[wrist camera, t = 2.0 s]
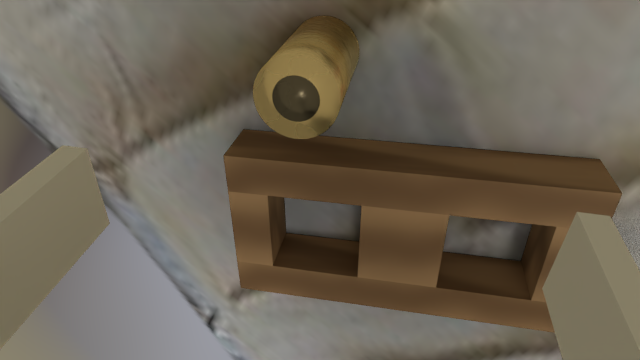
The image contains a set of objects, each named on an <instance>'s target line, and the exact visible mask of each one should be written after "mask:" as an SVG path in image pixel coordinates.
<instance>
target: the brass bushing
mask: <svg viewBox="0 0 640 360" xmlns="http://www.w3.org/2000/svg"><path fill="white" fill-rule="evenodd" d="M358 59H359V44H358V40H357V38H356V36H355V34H354V32H353V31H352V29H351V28H350V27H349V26H348V25H347V24H346V23H344V22H343V21H341V20H339V19H337V18H335V17H331V16H316V17H313V18H310V19H308V20H307V21H305V22H304V23H303V24H302V25H300V27H299V28H298V29H297V30H296V31H295V32H294V33H293V34H292V35H291V36H290V38H289V39H288V40H287V41H286V42H285V43H284V44H283V45H282V46H281V47H280V48H279V50H278V51H277V52H276V53H275V54H274V55H273V56H272V57H271V58H270V59H269V61H268V62H267V63H266V64H265V65H264V66H263V67H262V68H261V70H260V71H259V73H258V74H257V76H256V79H255V82H254V86H253V98H254V103H255V107H256V109H257V112H258V113H259V115H260V117H261V118H262V120H263V121H264V122H265V123H266V124H267V125H268V126H269V127H270V128H271V129H273V130H274V131H276V132H277V133H279V134H281V135H283V136H286V137H289V138H294V139H308V138H313V137H316V136H318V135H320V134H322V133H324V132H325V131H326V130H328V129H329V128H330V127H331V126H332V124H333V123H334V121H335V120H336V118H337V116H338V113H339V110H340V108H341V105H342V102H343V100H344V97H345V95H346V92H347V89H348V87H349V84H350V81H351V79H352V76H353V74H354V71H355V68H356V66H357V63H358Z"/></svg>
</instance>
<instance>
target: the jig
mask: <svg viewBox="0 0 640 360" xmlns="http://www.w3.org/2000/svg"><path fill="white" fill-rule="evenodd" d="M224 163H225V171H226V179H227V186H228V194H229V201H230V209H231V217H232V224H233V232H234V239H235V247H236V255H237V262H238V270H239V277H240V285H241V288H246V289H253V290H260V291H267V292H274V293H281V294H288V295H295V296H303V297H310V298H317V299H324V300H331V301H338V302H345V303H352V304H359V305H366V306H373V307H380V308H387V309H394V310H401V311H408V312H415V313H422V314H429V315H436V316H443V317H450V318H457V319H464V320H471V321H478V322H485V323H492V324H499V325H506V326H513V327H520V328H527V329H534V330H541V331H548V332H555V331H554V328H553V324H552V321H551V317H550V314H549V310H548V307H547V303H546V300H545V296H544V293H543V289H542V288H543V286H544V283H545V281H546V279H547V277H548V275H549V272H550V270H551V268H552V266H553V264H554V261H555V259H556V257H557V255H558V252H559V250H560V248H561V246H562V244H563V241H564V239H565V237H566V235H567V233H568V230H569V228H570V226H571V224H572V221H573V219H574V217H575V215H576V213H577V212H582V213H590V214H598V215H606V216H610V217H611V219H612V217H613V214H614V212H615V210H616V207H617V205H618V203H619V200H620V198H621V196H622V192H621V191H620V189H619V188H618V186H617V185H616V183H615V182H614V180H613V179H612V177H611V176H610V174H609V173H608V171H607V169H606V168H605V166H604V165H603V163H602V162H601V160H600V159H589V158H577V157H565V156H554V155H542V154H530V153H518V152H506V151H494V150H482V149H471V148H459V147H447V146H435V145H423V144H411V143H399V142H388V141H376V140H364V139H352V138H340V137H328V136H316V137H313V138H308V139H294V138H289V137H286V136H283V135H281V134H279V133H277V132H269V131H257V130H245V129H243V131H242V132H241V133H240V135H239V136H238V137H237V139H236V140H235V141H234V143H233V144H232V145H231V147H230V148H229V149H228V150H227V152H226V153H225V154H224ZM284 197H285V198H294V199H304V200H313V201H322V202H331V203H341V204H350V205H359V206H362V207H361V225H360V242H357V241H349V240H340V239H332V238H324V237H315V236H307V235H299V234H291V233H286V221H285V203H284ZM449 215H452V216H461V217H471V218H480V219H489V220H499V221H508V222H517V223H526V224H532V227H531V230H530V233H529V237H528V240H527V243H526V246H525V250H524V253H523V256H522V259H521V261H515V260H506V259H498V258H490V257H481V256H473V255H465V254H457V253H448V252H443V247H444V242H445V236H446V231H447V225H448V220H449Z"/></svg>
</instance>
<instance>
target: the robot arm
mask: <svg viewBox="0 0 640 360" xmlns="http://www.w3.org/2000/svg"><path fill="white" fill-rule="evenodd" d="M109 223H110V222H109V219H108V216H107V212H106V209H105V206H104V203H103V199H102V196H101V193H100V189H99V186H98V183H97V179H96V176H95V173H94V170H93V166H92V163H91V160H90V156H89V153H88V150H87V149H86V148H78V147H70V146H63V145H62V146H61V147H60V148H59V149H57V150H56V151H55V152H54V153H52V154H51V155H50V156H48V157H47V158H46V159H45V160H43V161H42V162H41V163H40V164H38V165H37V166H36V167H35V168H33V169H32V170H31V171H29V172H28V173H27V174H26V175H24V176H23V177H22V178H20V179H19V180H18V181H17V182H15V183H14V184H13V185H11V186H10V187H9V188H8V189H6V190H5V191H4V192H3V193H1V194H0V349H1V348H2V347H3V346H4V345H5V343H6V342H7V341H8V340H9V339H10V338H11V336H12V335H13V334H14V333H15V332H16V331H17V330H18V329H19V327H20V326H21V325H22V324H23V323H24V322H25V320H26V319H27V318H28V317H29V316H30V315H31V314H32V312H33V311H34V310H35V309H36V308H37V307H38V305H39V304H40V303H41V302H42V301H43V300H44V299H45V297H46V296H47V295H48V294H49V293H50V292H51V290H52V289H53V288H54V287H55V286H56V285H57V284H58V282H59V281H60V280H61V279H62V278H63V276H64V275H65V274H66V273H67V272H68V271H69V270H70V268H71V267H72V266H73V265H74V264H75V263H76V262H77V260H78V259H79V258H80V257H81V256H82V255H83V253H84V252H85V251H86V250H87V249H88V248H89V247H90V245H91V244H92V243H93V242H94V241H95V240H96V238H97V237H98V236H99V235H100V234H101V233H102V232H103V230H104V229H105V228H106V227H107V226H108V225H109ZM542 289H543V293H544V296H545V300H546V303H547V307H548V310H549V314H550V317H551V321H552V324H553V328H554V331H555V335H556V338H557V342H558V345H559V349H560V352H561V356H562V359H563V360H640V271H639V269H638V267H637V265H636V263H635V262H634V260H633V258H632V256H631V254H630V252H629V250H628V249H627V247H626V245H625V243H624V241H623V239H622V237H621V236H620V234H619V232H618V230H617V228H616V226H615V224H614V223H613V221H612V219H611V217H610V216H606V215H598V214H590V213H582V212H577V213H576V215H575V217H574V219H573V221H572V224H571V226H570V228H569V230H568V233H567V235H566V237H565V239H564V241H563V244H562V246H561V248H560V250H559V252H558V255H557V257H556V259H555V261H554V264H553V266H552V268H551V270H550V272H549V275H548V277H547V279H546V281H545V283H544V286H543V288H542Z"/></svg>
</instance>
